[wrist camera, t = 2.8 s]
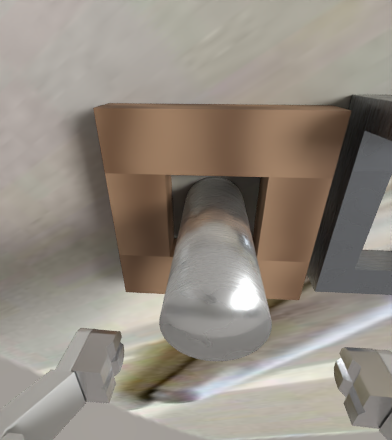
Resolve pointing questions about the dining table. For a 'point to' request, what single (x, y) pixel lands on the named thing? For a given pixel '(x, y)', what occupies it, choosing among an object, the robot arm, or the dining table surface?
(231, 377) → the dining table surface
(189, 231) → the steel cylinder
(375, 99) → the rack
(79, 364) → the robot arm
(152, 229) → the socket block
